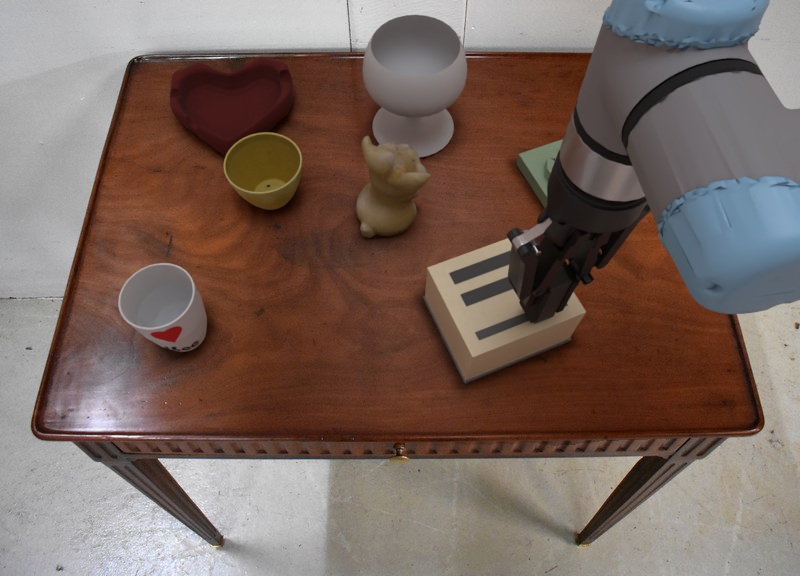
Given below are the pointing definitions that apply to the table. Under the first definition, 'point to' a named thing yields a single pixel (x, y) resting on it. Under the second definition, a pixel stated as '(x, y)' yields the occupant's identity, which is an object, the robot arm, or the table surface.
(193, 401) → the table surface
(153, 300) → the cup
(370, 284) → the table surface
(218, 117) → the ashtray
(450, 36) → the chalice
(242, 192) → the flower pot
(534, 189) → the control block
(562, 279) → the toaster slider
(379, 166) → the figurine
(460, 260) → the toaster
